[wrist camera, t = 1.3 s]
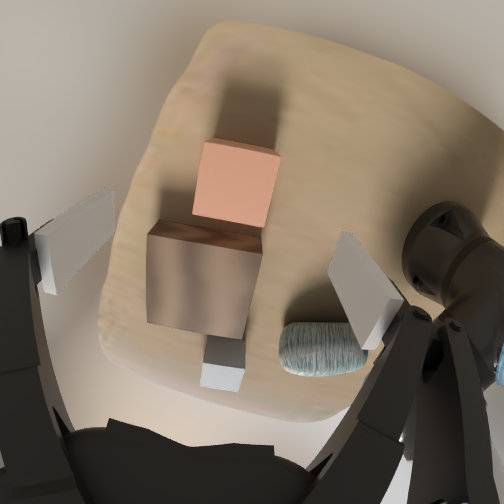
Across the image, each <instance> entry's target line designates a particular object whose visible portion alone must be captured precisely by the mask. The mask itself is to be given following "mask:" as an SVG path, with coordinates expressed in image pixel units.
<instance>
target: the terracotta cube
mask: <svg viewBox="0 0 504 504" xmlns="http://www.w3.org/2000/svg"><path fill="white" fill-rule="evenodd" d="M280 160H281V156H280V155H279V154H278V153H277V152H276V151H275V150H274V149H269V148H265V147H260V146H255V145H251V144H246V143H240V142H235V141H230V140H224V139H219V138H211V139H209V140H207V141H205V142H204V145H203V150H202V156H201V162H200V167H199V173H198V179H197V185H196V192H195V198H194V205H193V211H192V214H193V215H199V216H204V217H210V218H215V219H221V220H226V221H231V222H236V223H242V224H247V225H252V226H257V227H262V228H264V225H265V221H266V217H267V213H268V209H269V205H270V201H271V197H272V193H273V189H274V185H275V181H276V177H277V173H278V169H279V165H280Z"/></svg>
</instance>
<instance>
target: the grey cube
mask: <svg viewBox="0 0 504 504" xmlns="http://www.w3.org/2000/svg"><path fill="white" fill-rule="evenodd" d="M244 371H245V341H243V340H236V339H230V338H224V337H218V336H212V335H208V336H207V342H206V348H205V354H204V361H203V367H202V374H201V381H200V386H202V387H208V388H214V389H221V390H228V391H235V392H238V390H239V387H240V384H241V381H242V378H243V375H244Z"/></svg>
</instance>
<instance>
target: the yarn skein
mask: <svg viewBox="0 0 504 504" xmlns="http://www.w3.org/2000/svg"><path fill="white" fill-rule="evenodd" d="M367 356H368V350H365V349H361V348H360V345H359V343H358V341H357V338H356V336H355V334H354V331H353V329H352V327H351V324H350V322H348V323H345V322H341V323H335V322H332V323H325V322H293V323H290V324H288V325H287V326H286V327H285V328H284V330H283V331H282V333H281V336H280V342H279V361H280V363H281V365H282V366H283V368H284V369H285V370H286V371H288V372H290V373H293V374H296V375H301V376H331V375H338V374H342V373H348V372H355V371H357V370H359V369H360V368H362V367H363V366H364V365H365V363H366V360H367Z"/></svg>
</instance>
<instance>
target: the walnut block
mask: <svg viewBox="0 0 504 504" xmlns="http://www.w3.org/2000/svg"><path fill="white" fill-rule="evenodd" d="M262 255H263V252H262V243H261V237H255V236H249V235H244V234H238V233H232V232H227V231H221V230H215V229H209V228H204V227H198V226H192V225H186V224H180V223H174V222H168V221H162V220H158V222H157V223H156V224H155V225H154V227H153V228H152V229H151V230H150V231H149V233H148V234H147V254H146V305H147V323H151V324H156V325H160V326H165V327H170V328H175V329H180V330H186V331H191V332H197V333H203V334H208V335H215V336H221V337H227V338H234V339H241V340H242V337H243V333H244V329H245V325H246V321H247V317H248V313H249V309H250V305H251V300H252V296H253V292H254V288H255V284H256V280H257V276H258V272H259V268H260V264H261V259H262Z"/></svg>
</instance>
